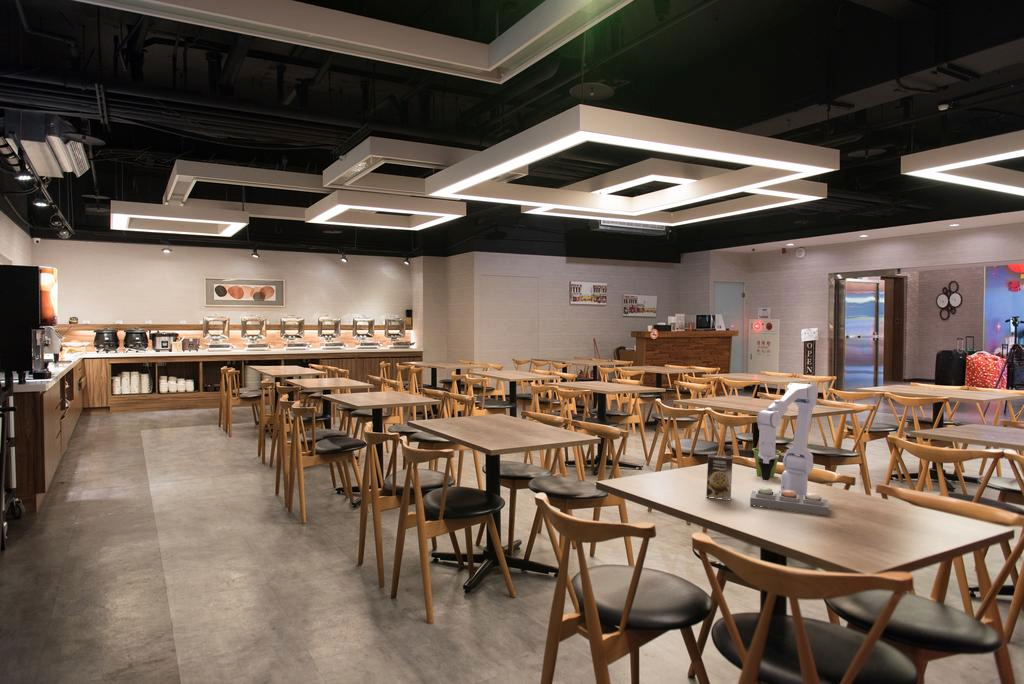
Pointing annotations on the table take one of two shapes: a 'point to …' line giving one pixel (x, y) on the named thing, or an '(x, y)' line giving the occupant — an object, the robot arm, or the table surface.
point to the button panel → (790, 503)
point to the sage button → (765, 490)
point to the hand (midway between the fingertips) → (766, 478)
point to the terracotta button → (789, 493)
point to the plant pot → (758, 469)
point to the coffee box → (719, 476)
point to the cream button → (813, 496)
